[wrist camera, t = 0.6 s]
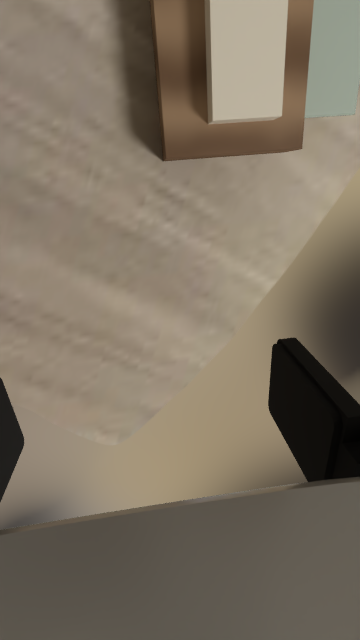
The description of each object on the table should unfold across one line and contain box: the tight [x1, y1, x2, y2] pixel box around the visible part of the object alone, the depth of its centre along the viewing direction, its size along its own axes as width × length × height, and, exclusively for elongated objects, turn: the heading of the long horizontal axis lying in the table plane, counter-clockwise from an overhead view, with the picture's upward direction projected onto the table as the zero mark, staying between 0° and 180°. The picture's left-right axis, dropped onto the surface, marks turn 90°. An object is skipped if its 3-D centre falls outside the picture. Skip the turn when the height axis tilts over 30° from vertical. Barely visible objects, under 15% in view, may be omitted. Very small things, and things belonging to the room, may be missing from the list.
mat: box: [304, 0, 360, 118], centre depth 30 cm, size 11×7×1 cm, turn 4°
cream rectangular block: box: [205, 0, 288, 124], centre depth 26 cm, size 9×6×2 cm, turn 4°
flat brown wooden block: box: [150, 0, 314, 161], centre depth 28 cm, size 14×13×4 cm
